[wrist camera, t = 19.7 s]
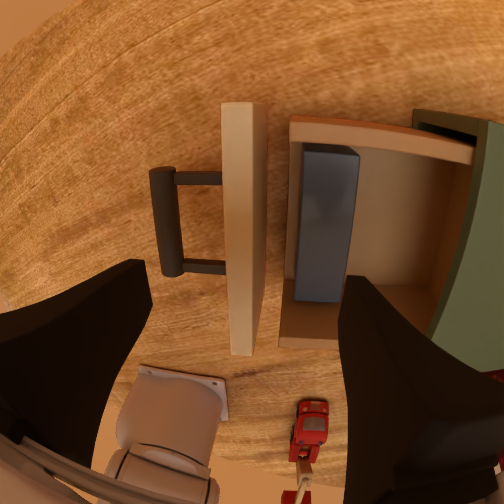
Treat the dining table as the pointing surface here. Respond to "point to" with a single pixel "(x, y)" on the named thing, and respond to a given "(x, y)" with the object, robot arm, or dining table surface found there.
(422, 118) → the cabinet
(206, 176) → the drawer
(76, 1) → the dining table surface
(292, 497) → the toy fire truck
